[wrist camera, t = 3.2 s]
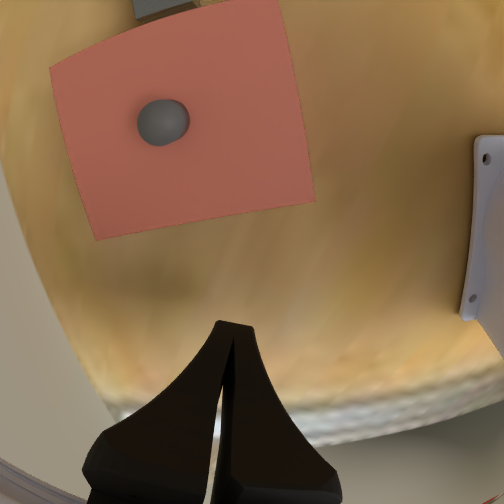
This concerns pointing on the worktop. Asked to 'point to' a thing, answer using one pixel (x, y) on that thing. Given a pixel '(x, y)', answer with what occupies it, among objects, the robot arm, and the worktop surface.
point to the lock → (185, 120)
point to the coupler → (161, 8)
